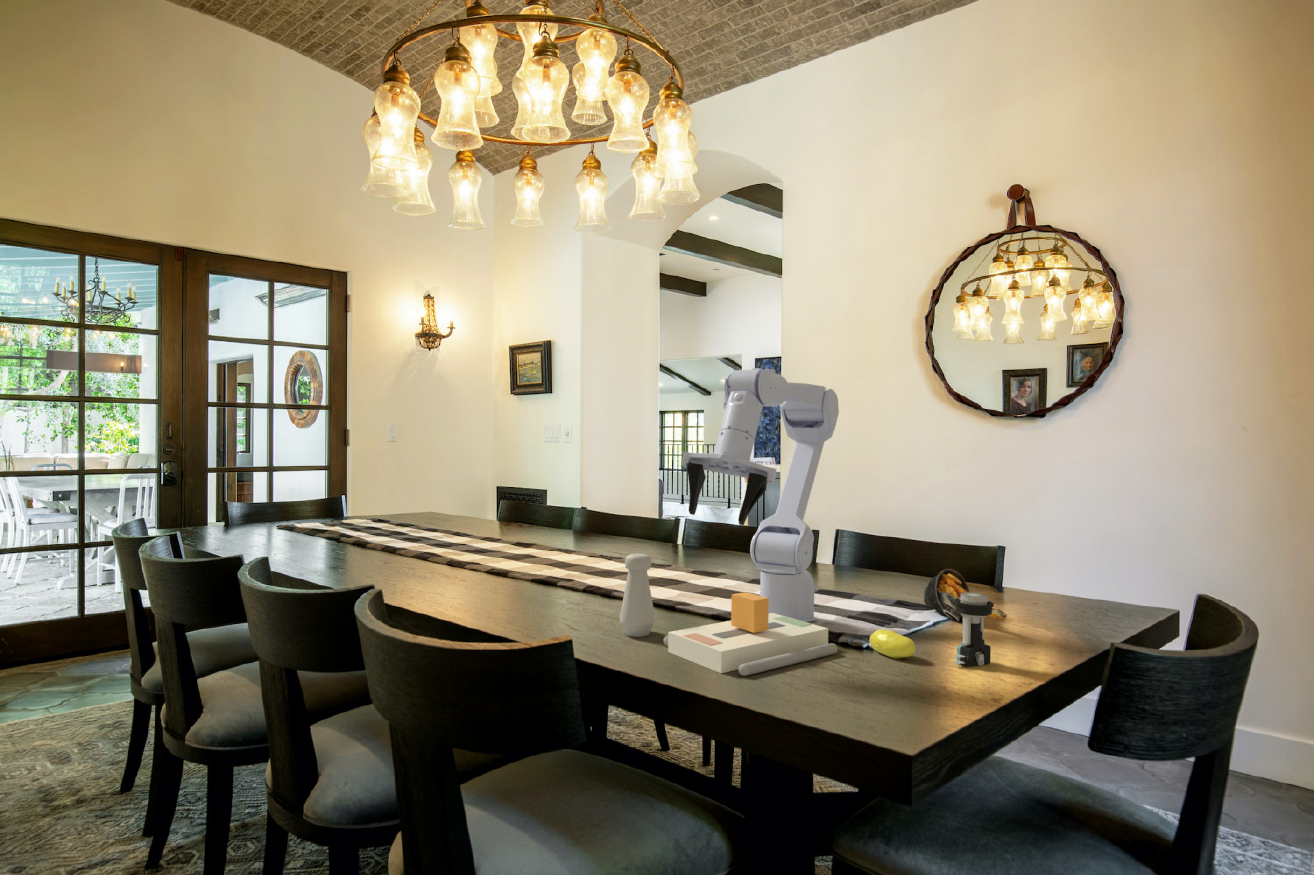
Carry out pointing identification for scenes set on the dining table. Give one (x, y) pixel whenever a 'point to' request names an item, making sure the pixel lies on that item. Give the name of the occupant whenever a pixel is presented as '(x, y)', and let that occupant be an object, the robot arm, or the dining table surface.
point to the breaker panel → (744, 642)
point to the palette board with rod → (783, 658)
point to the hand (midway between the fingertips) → (715, 517)
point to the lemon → (892, 644)
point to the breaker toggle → (749, 612)
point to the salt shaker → (637, 597)
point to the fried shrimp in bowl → (950, 594)
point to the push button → (973, 629)
